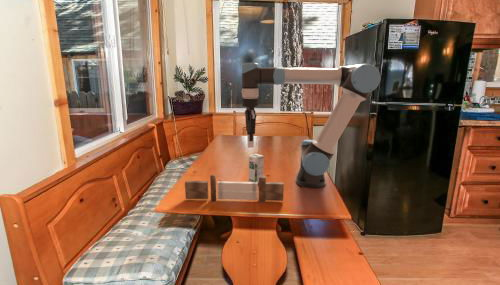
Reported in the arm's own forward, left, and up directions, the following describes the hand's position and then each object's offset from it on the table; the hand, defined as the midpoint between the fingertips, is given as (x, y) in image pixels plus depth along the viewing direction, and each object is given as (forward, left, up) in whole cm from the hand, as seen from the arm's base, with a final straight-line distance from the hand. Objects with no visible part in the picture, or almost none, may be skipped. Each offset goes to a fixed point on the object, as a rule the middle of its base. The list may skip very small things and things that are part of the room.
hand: (250, 147), depth 139 cm
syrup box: (-3, -11, -22) cm, 25 cm away
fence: (+7, +13, -22) cm, 26 cm away
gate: (+5, +13, -21) cm, 25 cm away
